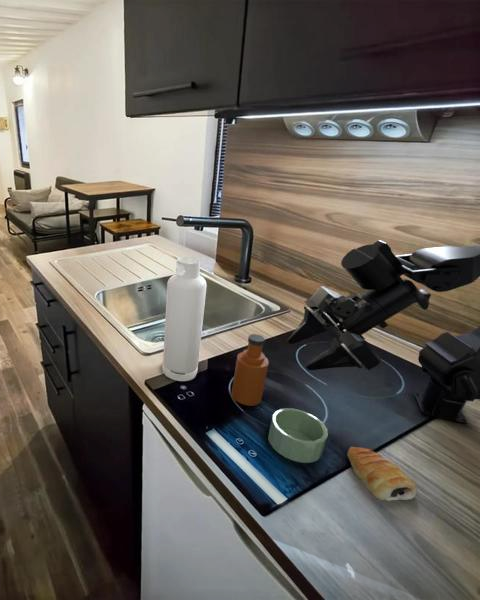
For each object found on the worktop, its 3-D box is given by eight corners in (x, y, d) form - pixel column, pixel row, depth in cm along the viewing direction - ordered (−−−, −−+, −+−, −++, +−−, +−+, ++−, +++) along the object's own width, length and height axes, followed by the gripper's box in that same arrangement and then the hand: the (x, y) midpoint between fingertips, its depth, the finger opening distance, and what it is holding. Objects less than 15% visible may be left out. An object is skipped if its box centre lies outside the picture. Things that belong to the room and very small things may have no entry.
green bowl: (268, 423, 71) (273, 403, 69) (319, 437, 67) (326, 416, 65) (266, 454, 64) (270, 433, 62) (322, 472, 60) (329, 450, 58)
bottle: (156, 365, 89) (161, 257, 78) (183, 358, 92) (193, 251, 80) (175, 384, 83) (183, 269, 71) (204, 375, 85) (217, 262, 73)
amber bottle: (239, 386, 81) (249, 327, 75) (265, 398, 77) (278, 337, 71) (225, 397, 78) (234, 337, 71) (252, 411, 74) (264, 349, 67)
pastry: (333, 455, 63) (339, 439, 61) (370, 452, 63) (376, 435, 62) (378, 506, 55) (386, 488, 53) (420, 501, 55) (429, 483, 53)
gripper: (325, 258, 72) (257, 307, 78) (381, 297, 55) (289, 355, 61) (358, 295, 74) (289, 339, 80) (422, 343, 57) (328, 395, 63)
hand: (297, 354), depth 71 cm, fingers open, 9 cm apart
